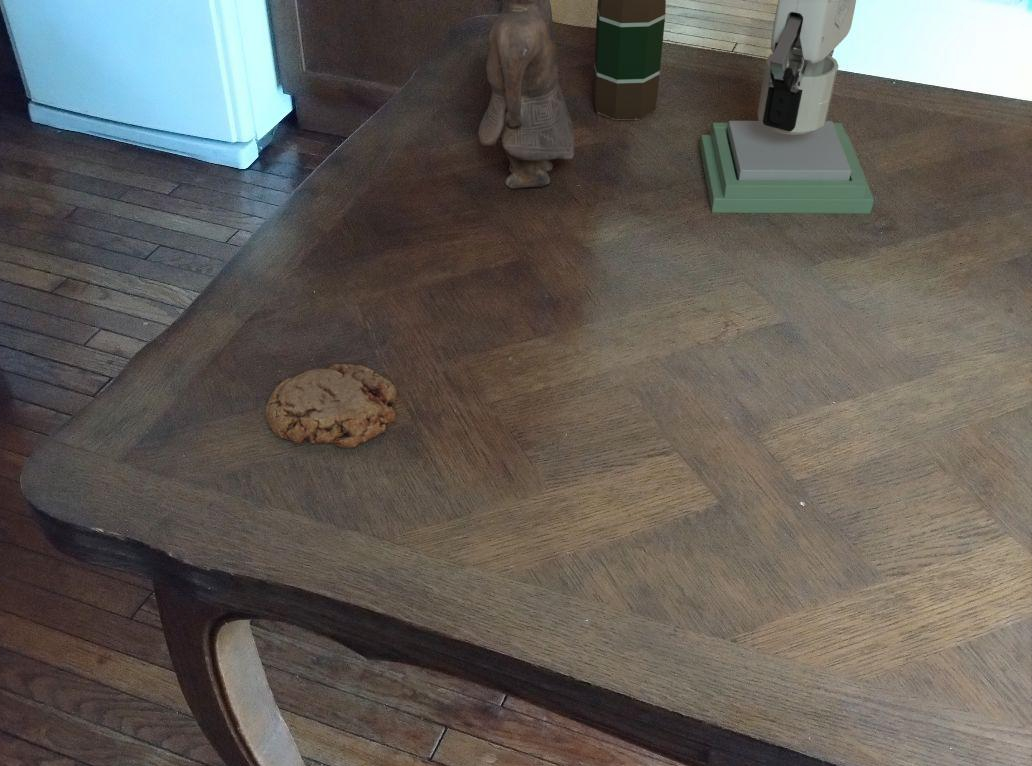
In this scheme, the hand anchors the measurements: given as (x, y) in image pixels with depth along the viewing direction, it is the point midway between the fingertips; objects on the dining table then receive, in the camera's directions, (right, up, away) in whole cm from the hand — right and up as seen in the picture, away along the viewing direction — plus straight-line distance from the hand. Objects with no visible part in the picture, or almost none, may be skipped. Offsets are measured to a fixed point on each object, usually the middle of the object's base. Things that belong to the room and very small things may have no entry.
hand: (793, 110), depth 107 cm
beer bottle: (-15, +7, +18) cm, 24 cm away
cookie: (-44, -33, -20) cm, 58 cm away
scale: (0, -5, +5) cm, 7 cm away
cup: (0, -1, +1) cm, 1 cm away
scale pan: (0, -3, +4) cm, 5 cm away
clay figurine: (-27, -5, +7) cm, 28 cm away
